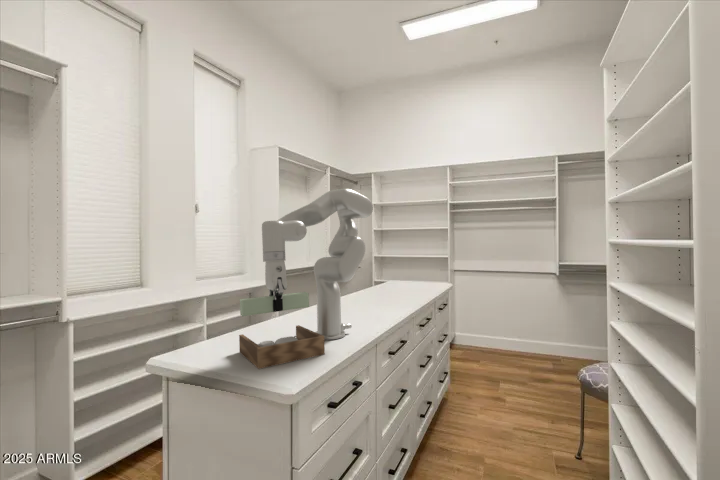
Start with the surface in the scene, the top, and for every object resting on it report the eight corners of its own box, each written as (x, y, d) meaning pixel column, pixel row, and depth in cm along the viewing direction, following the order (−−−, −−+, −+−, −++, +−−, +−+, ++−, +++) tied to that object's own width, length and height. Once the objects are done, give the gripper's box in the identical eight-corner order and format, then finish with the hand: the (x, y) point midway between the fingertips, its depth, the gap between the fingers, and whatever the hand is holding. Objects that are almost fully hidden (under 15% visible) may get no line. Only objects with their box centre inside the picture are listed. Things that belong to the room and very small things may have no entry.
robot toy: (252, 363, 112) (300, 356, 115) (251, 349, 112) (298, 342, 115) (256, 352, 124) (299, 345, 127) (255, 339, 124) (297, 333, 127)
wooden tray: (299, 340, 134) (298, 325, 134) (324, 354, 117) (324, 336, 117) (239, 352, 121) (239, 334, 121) (258, 368, 105) (258, 348, 105)
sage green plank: (242, 316, 113) (242, 300, 113) (240, 314, 116) (239, 299, 116) (309, 307, 125) (308, 293, 124) (305, 305, 127) (305, 291, 127)
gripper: (293, 256, 115) (295, 312, 115) (277, 255, 129) (279, 305, 129) (270, 258, 111) (272, 316, 111) (256, 256, 125) (258, 307, 125)
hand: (276, 309), depth 120 cm, fingers closed on sage green plank, 3 cm apart
